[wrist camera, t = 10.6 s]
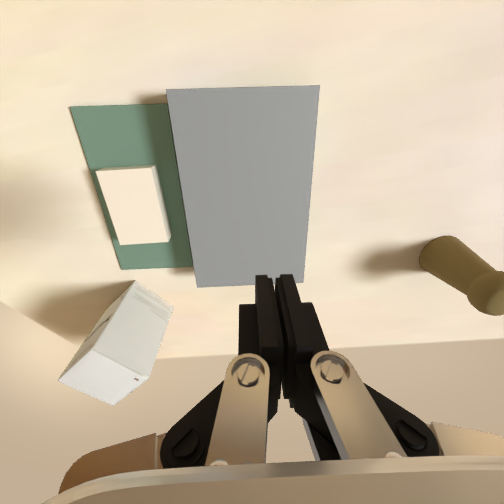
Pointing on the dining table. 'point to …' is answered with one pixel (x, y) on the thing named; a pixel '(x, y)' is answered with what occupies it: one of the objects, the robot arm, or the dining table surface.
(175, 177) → the mat
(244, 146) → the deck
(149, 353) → the supplement box
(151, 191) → the card
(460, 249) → the cork
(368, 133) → the dining table surface
